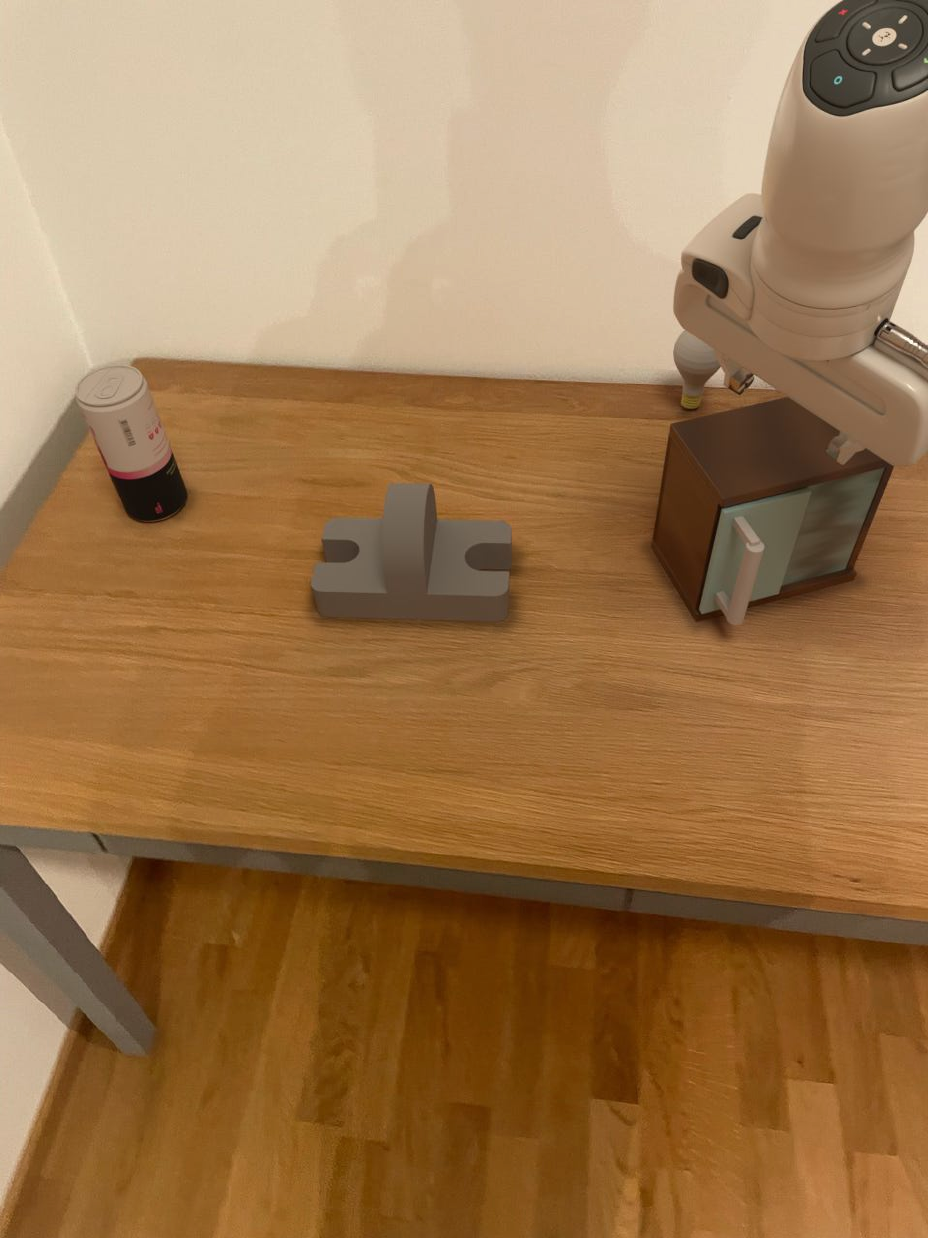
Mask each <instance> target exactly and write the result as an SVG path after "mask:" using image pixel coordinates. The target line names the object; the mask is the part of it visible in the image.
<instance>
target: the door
mask: <svg viewBox="0 0 928 1238" xmlns="http://www.w3.org/2000/svg"><path fill="white" fill-rule="evenodd" d="M810 495H811V490H810V489H809V488H808V487H807V488H803V489H799V490H795V491H791V492H787V493H783V494H778V495H774V496H770V497H766V498H762V499H758V500H754V501H750V502H746V503H742V504H738V505H734V506H730V507H726V508H722V510H721V515H720V519H719V523H718V528H717V532H716V537H715V541H714V546H713V550H712V554H711V559H710V563H709V568H708V572H707V576H706V581H705V585H704V590H703V594H702V598H701V603H700V607H699V610H700V612H701V614H704V613H708V612H712V611H716V610H719V609H721V610H722V612H723V613H724V614H723V615H724V616H725V618H726V621H727V622H728V624H729V625H731V626H740V625H742V624H743V623H744V620H745V617H746V614H747V609H748V608H747V606H748V603H749V602H750V601H754V600H757V599H761V598H765V597H769V596H773V595H776V594H779V591H780V588H781V585H782V582H783V579H784V576H785V573H786V570H787V566H788V563H789V560H790V557H791V554H792V551H793V548H794V545H795V542H796V538H797V535H798V532H799V529H800V526H801V523H802V520H803V517H804V514H805V510H806V507H807V504H808V501H809V498H810Z"/></svg>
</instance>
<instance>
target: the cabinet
mask: <svg viewBox="0 0 928 1238" xmlns="http://www.w3.org/2000/svg"><path fill="white" fill-rule="evenodd" d="M839 433H840V431H839V430H837V429H836V428H834V427H833V426H831V425H830V424H828V423H827V422H825V421H824V420H822V419H821V418H819V417H818V416H816V415H815V414H813V413H812V412H810V411H808V410H807V409H805V408H804V407H802V406H801V405H799V404H798V403H796V402H795V401H793V400H792V399H790V398H789V397H787V396H784V397H781V398H780V397H779V398H776V399H771V400H767V401H763V402H759V403H754V404H750V405H749V404H748V405H746V406H740V407H737V408H733V409H728V410H723V411H719V412H714V413H711V414H706V415H701V416H697V417H694V418H688V419H685V420H680V421H676V422H672V423H670V424H669V430H668V437H667V444H666V447H665V448H666V449H665V455H664V461H663V462H664V463H663V468H662V475H661V481H660V486H659V487H660V488H659V495H658V501H657V507H656V512H655V513H656V514H655V520H654V528H653V534H652V540H651V545H650V547H651V549H652V552H653V553H654V555H655V556H656V558H657V559H658V561H659V563H660V564H661V566H662V567H663V569H664V571H665V573H666V574H667V576H668V577H669V579H670V582H672V585H673V586H674V587H675V589H676V591H677V592H678V594H679V596H680V597H681V599H682V601H683V602H684V604H685V606H686V608H687V609H688V611H689V613H690V614H691V616H692V617H693V619H694V621H695V622H700V621H704V620H707V619H712V618H715V617H719V616H723V615H724V613H723V612H722V610H721V609H719V610H716V611H712V612H708V613H704V614H701V612H700V610H699V607H700V603H701V598H702V594H703V590H704V585H705V581H706V576H707V572H708V568H709V563H710V559H711V554H712V550H713V546H714V541H715V537H716V532H717V528H718V523H719V519H720V515H721V510H722V508H726V507H730V506H734V505H738V504H742V503H746V502H750V501H754V500H758V499H762V498H766V497H770V496H774V495H778V494H783V493H787V492H791V491H795V490H799V489H803V488H807V487H808V488H809V489H810V490H811V495H810V498H809V501H808V504H807V507H806V510H805V514H804V517H803V520H802V523H801V526H800V529H799V532H798V535H797V538H796V542H795V545H794V548H793V551H792V554H791V557H790V560H789V563H788V566H787V570H786V573H785V576H784V579H783V582H782V585H781V588H780V591H779V594H776V595H773V596H769V597H765V598H761V599H757V600H754V601H750V602H749V603H748V606H747V609H749V608H753V607H756V606H761V605H765V604H768V603H771V602H775V601H779V600H783V599H787V598H790V597H795V596H799V595H802V594H806V593H811V592H814V591H817V590H821V589H825V588H828V587H832V586H836V585H839V584H840V585H841V584H843V583H847V582H852V581H855V580H856V576H857V574H858V571H856V570H855V566H856V564H857V561H858V558H859V555H860V553H861V550H862V548H863V546H864V543H865V541H866V538H867V536H868V533H869V531H870V528H871V525H872V523H873V520H874V518H875V516H876V513H877V511H878V508H879V506H880V503H881V500H882V498H883V496H884V494H885V491H886V488H887V486H888V483H889V480H890V478H891V476H892V474H893V471H894V469H895V466H893V465H891V464H889V463H888V462H886V461H885V460H883V459H882V458H880V457H879V456H877V455H876V454H874V453H873V452H871V451H870V450H868V449H866V448H865V449H864V450H862V451H859V452H856V453H855V454H854V455H853V456H852V457H851V458H850V459H849V460H848V461H847V462H846V463H845V464H843V465H842V464H840V463H839V462H837V461H836V460H834V459H833V458H831V457H830V456H829V455H827V454H826V451H827V450H828V445H829V442H830V441H831V440H832V439H833V438H834V437H835V436H838V435H839Z"/></svg>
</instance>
